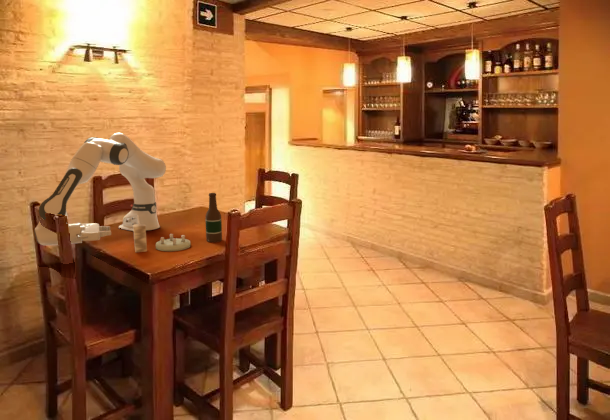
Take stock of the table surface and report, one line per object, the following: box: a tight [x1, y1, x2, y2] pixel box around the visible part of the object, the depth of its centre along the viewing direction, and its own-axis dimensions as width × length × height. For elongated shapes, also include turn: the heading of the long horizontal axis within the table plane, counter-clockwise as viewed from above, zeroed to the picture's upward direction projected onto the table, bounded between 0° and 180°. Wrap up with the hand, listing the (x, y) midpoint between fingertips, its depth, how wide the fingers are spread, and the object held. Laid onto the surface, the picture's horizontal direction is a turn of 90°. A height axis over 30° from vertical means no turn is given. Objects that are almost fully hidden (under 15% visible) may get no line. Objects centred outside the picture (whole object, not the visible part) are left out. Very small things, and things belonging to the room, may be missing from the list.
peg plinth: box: [155, 233, 191, 252], centre depth 233 cm, size 16×16×5 cm
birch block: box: [132, 224, 148, 253], centre depth 226 cm, size 5×5×12 cm
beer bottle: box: [204, 192, 223, 243], centre depth 243 cm, size 8×8×24 cm
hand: (110, 230), depth 220 cm, fingers open, 8 cm apart
